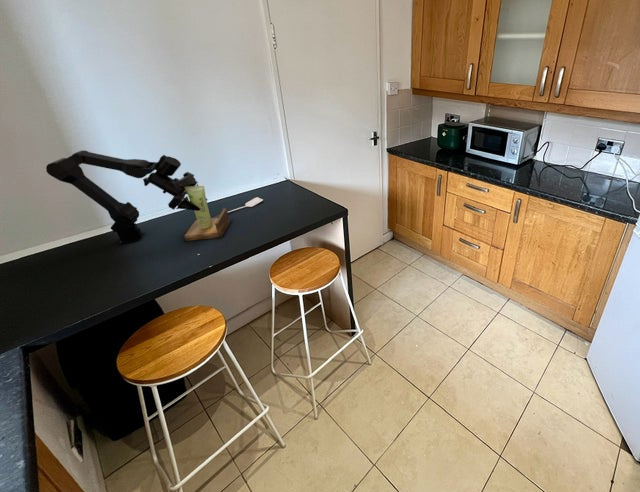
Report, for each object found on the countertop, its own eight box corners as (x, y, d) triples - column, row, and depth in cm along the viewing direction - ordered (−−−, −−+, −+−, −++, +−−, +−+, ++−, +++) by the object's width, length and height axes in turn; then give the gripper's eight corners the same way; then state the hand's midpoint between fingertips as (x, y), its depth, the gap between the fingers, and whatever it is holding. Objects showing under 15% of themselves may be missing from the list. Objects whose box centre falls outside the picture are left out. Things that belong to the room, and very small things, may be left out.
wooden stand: (186, 240, 132) (180, 226, 129) (197, 224, 145) (193, 211, 141) (222, 237, 135) (217, 223, 132) (230, 221, 147) (226, 208, 144)
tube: (201, 231, 135) (188, 189, 126) (196, 227, 137) (183, 186, 129) (214, 226, 139) (203, 185, 130) (209, 222, 141) (198, 182, 133)
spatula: (264, 202, 166) (263, 199, 165) (207, 225, 144) (206, 222, 143) (257, 199, 169) (256, 196, 168) (200, 221, 147) (199, 218, 147)
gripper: (167, 177, 118) (207, 201, 125) (186, 162, 134) (220, 183, 141) (151, 198, 120) (191, 220, 127) (171, 180, 136) (206, 200, 143)
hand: (203, 205), depth 134 cm, fingers open, 9 cm apart
